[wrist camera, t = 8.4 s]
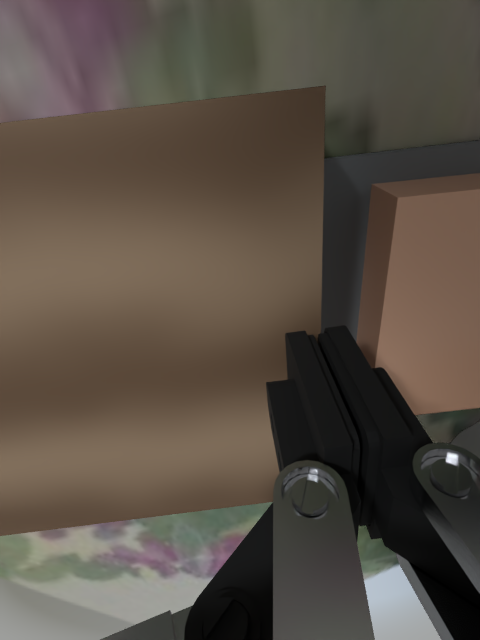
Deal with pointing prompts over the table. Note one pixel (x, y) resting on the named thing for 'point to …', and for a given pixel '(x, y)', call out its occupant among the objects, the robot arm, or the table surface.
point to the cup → (469, 439)
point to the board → (152, 303)
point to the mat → (353, 211)
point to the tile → (424, 290)
